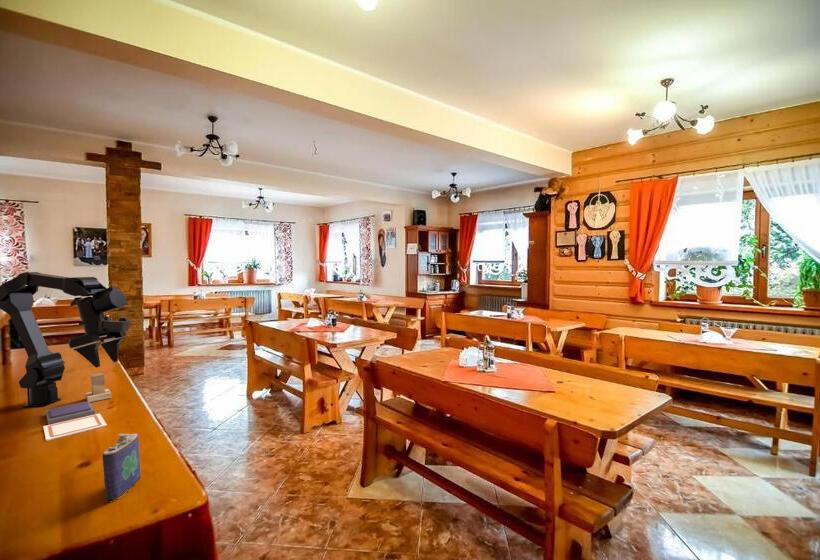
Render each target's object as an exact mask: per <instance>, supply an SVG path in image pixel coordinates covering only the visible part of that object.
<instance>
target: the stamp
mask: <svg viewBox="0 0 820 560" xmlns="http://www.w3.org/2000/svg"><path fill="white" fill-rule="evenodd" d="M90 379H91V382H90V383H91V392H86V393H84V394H85V400H86V401H87V402H90V403H91V404H92V403H97V402H101V401H106V400H111V399H112V395H113V393H112V391H111V390H110V389H109V388H106V386H105V385H106V383H105V374H104V372H102V373H101V372H100V373H94V374H91V375H90ZM110 398H111V399H110Z"/></svg>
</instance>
